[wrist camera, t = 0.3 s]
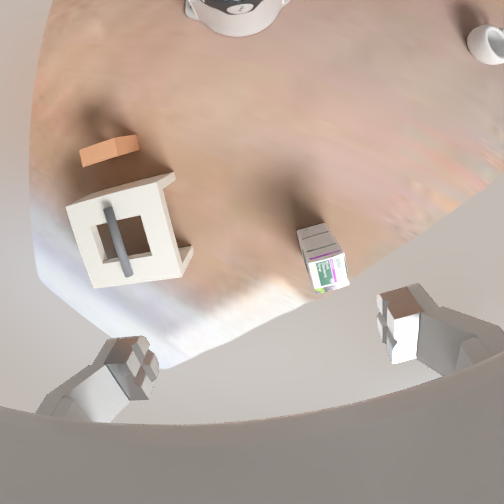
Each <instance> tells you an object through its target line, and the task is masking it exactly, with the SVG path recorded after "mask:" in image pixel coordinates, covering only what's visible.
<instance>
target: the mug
mask: <svg viewBox="0 0 504 504" xmlns="http://www.w3.org/2000/svg"><path fill="white" fill-rule="evenodd" d="M467 45H468V49H469V51H470V53H471V54H472V55H473V56H474V57H475V58H476V59H477V60H478V61H480V62H482V63H485V64H491V65H496V64H502V63H504V28H497V27H496V26H493V25H481V26H478V27H476V28H474V29H473V30H472V31H471V32H470V33H469V35H468V37H467Z"/></svg>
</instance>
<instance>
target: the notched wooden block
mask: <svg viewBox="0 0 504 504" xmlns="http://www.w3.org/2000/svg"><path fill="white" fill-rule="evenodd" d="M138 150H140V148H139V143H138V138H137V134H136V135H129V136H122V137H116V138H112V139H109V140H106V141H103V142H100V143H97V144H94V145H92V146H89V147H86V148H83V149H81V150H79V153H80V157H81V161H82V166H83V167H86V166H89V165H92V164H95V163H98V162H101V161H105V160H108V159H111V158H114V157H117V156H120V155H124V154H127V153H131V152H134V151H138Z"/></svg>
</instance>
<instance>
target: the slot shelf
mask: <svg viewBox="0 0 504 504" xmlns="http://www.w3.org/2000/svg"><path fill="white" fill-rule="evenodd" d="M175 180H176V178H175V174H174V172H171V173H167V174H162V175H158V176H154V177H150V178H146V179H142V180H138V181H134V182H130V183H126V184H123V185H119V186H115V187H112V188H108V189H105V190H101V191H98V192H94V193H91V194H89V195H87V196H85V197H83V198H81V199H79V200H77V201H75V202H74V203H72V204H70V205H68V206H66V210H67V213H68V217H69V220H70V223H71V226H72V229H73V233H74V236H75V239H76V242H77V244H78V247H79V250H80V253H81V256H82V259H83V261H84V264H85V267H86V269H87V272H88V275H89V277H90V280H91V282H92V285H93V287H94V289H95V288H103V287H110V286H118V285H126V284H133V283H141V282H149V281H156V280H163V279H171V278H178V277H182V276H183V274H184V272H185V270H186V268H187V266H188V264H189V262H190V260H191V258H192V256H193V254H194V251H193V248H192V246H188V247H182V248H178V246H177V243H176V239H175V235H174V231H173V228H172V224H171V220H170V216H169V212H168V208H167V204H166V200H165V196H164V192H163V188H165V187H166V186H168V185H169V184H170V183H172V182H173V181H175ZM139 215H141V219H142V222H143V226H144V229H145V233H146V236H147V240H148V243H149V246H150V250H151V252H147V253H141V254H135V255H129V256H127V253H126V250H125V247H124V244H123V241H122V237H121V234H120V231H119V228H118V224H117V221H116V220H121V219H125V218H130V217H134V216H139ZM103 223H107V224H108V228H109V231H110V234H111V237H112V240H113V243H114V247H115V250H116V253H117V256H118V257H117V258H112V259H107V257H106V254H105V251H104V248H103V245H102V242H101V239H100V236H99V232H98V229H97V226H96V225H99V224H103Z"/></svg>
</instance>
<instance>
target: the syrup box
mask: <svg viewBox="0 0 504 504" xmlns="http://www.w3.org/2000/svg"><path fill="white" fill-rule="evenodd" d="M297 235H298V240H299V244H300V248H301V252H302V255H303V259H304V262H305V265H306V268H307V271H308V274H309V277H310V280H311V284H312V287H313V290H314V293H315V294H319V293H324V292H328V291H332V290H335V289H339V288H342V287H344V286H347V285H349V279H348V270H347V264H346V259H345V254H344V251H343V250H342V248H341V246H340V245H339V243H338V242H337V240H336V239H335V237H334V235H333V234H332V232H331V231H330V229H329V228H328V226H327V225H326V223H322V224H318V225H314V226H311V227H307V228H304V229H300V230H297Z"/></svg>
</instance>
